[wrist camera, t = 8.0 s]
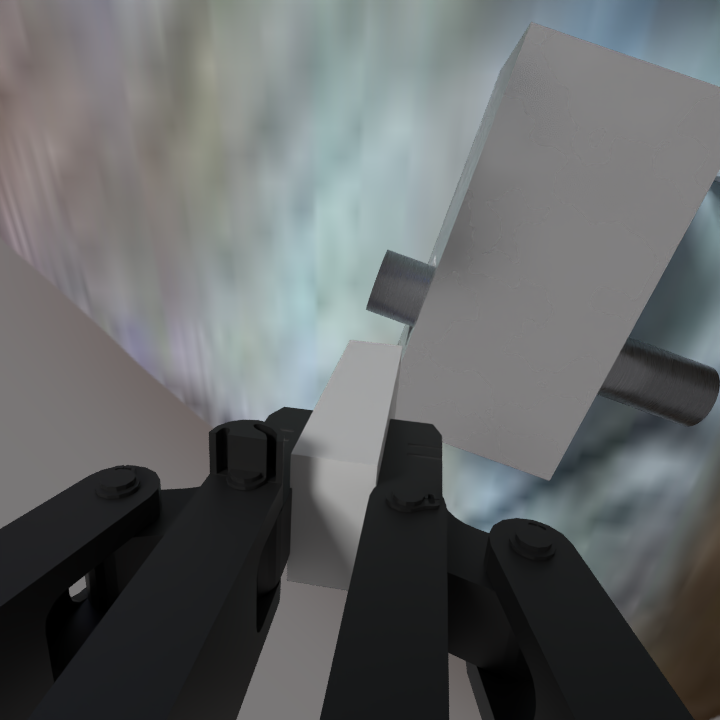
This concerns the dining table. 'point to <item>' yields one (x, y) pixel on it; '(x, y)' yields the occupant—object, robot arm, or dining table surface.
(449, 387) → the grey box
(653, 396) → the axle
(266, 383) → the dining table surface
